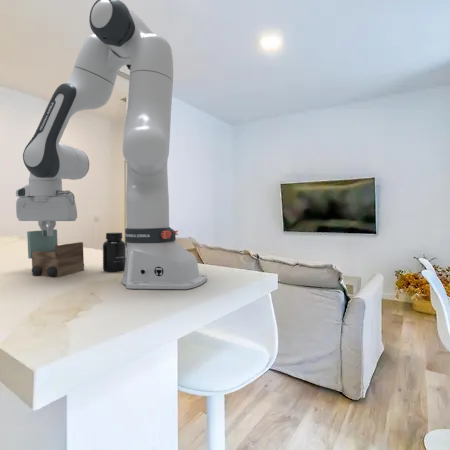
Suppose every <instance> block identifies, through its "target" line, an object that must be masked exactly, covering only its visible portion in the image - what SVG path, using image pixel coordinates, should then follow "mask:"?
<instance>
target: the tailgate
mask: <svg viewBox="0 0 450 450" xmlns="http://www.w3.org/2000/svg"><path fill="white" fill-rule="evenodd" d="M26 235H27V237H26V238H27V254H28V255H27V258H28V259H30V260H32V252H34V251H38V252H55V246H57V245H59V244H58V243H59V242H58V229H55V228H54V229H53V235H52V236H42V230H41V229H40V230H30V231H29V230H28V231H26Z"/></svg>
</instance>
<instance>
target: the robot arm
mask: <svg viewBox="0 0 450 450" xmlns="http://www.w3.org/2000/svg"><path fill="white" fill-rule="evenodd" d="M88 20H89V27H90V29H91V31H92V34H90V35H88V36H86V39H85V40H84V42H83V44H82V45H81V48H80V49H79V52H78V54H77V57H76V59H75V63H74V65H73V69H72V72H71V73H70V76H69V77H68V79H67V80H66V81H65V82H64V83H61V84H60V85H58V87H56V89H55V90H54V92H53V94H52V96H51V97H50V100H49V102H48V104H47V105H46V109H45V110H44V113H43V115H42V117H41V119H40V122H39V123H38V126H37V128H36V130H35V133H34V135H33V136H32V137H31V139H30V140H29V142H28V143H27V144H26V145H25V148H24V150H23V152H22V160H23V163H24V165H25V168H26V169H27V170H28V172H29V177H28V184H26V185H25V186H23V187H21V188H18V189H16V191H15V196H16V197H17V198H16V202H15V203H16V204H15V205H16V206H15V208H16V209H15V210H16V211H15V212H16V218H17V219H18V221H19V222H37V223H38V227H39V228H40V231H41V230H42V236H52V235H53V230H54V229H55V227H56V226H57V222H74V221H76V220H77V219H78V210H77V203H76V199H75V197H76V196H75V194H74V193H73V192H72V191H71V190H69V189H68V190H63V180H71V181H72V180H73V181H76V180H81V179H83V178H84V177H86V175H87V174H88V172H89V171H90V170H89V169H90V159H89V156H88V155H87V154H86V152H84V151H83V150H81V149H80V148H79V149H78V148H76V147H73V146H70V145H67V144H65V143H63V142H61V139H62V137H63V135H64V132H65V130H66V128H67V127H68V126H67V125H68V124H69V121H70V119H71V118H72V117H73V116H74V115H75V114H76V113H78V112H82V111H88V110H95V109H99V108H102V107H104V106H105V105H106V104H107V103H108V101H109V100H110V98H111V96H112V94H113V90H114V87H115V83H116V80H117V77H118V73H119V72H120V70H121V68H122V67H124V66H126V68H127V69H128V70H129V80H128V82H129V83H128V93H127V94H128V96H127V97H128V98H127V109H126V116H125V122H124V128H123V129H124V131H123V140H122V154H123V157H124V160H125V162H126V192H125V208H126V209H125V213H126V215H125V216H126V219H125V220H126V221H125V222H126V228H125V229H124V242H125V244H126V261H125V269H124V271H123V273H122V278H121V281H120V282H121V284H122V285H125V287H126V289H135V290H138V289H139V290H144V289H145V290H146V289H147V290H189V289H194V288H196V287H199V286H201V285H203V284H204V283H206V281H207V280H208V276H207V274H205V273H200V271H199V264H198V259H197V258H196V256H195V255H194V254H192V253H191V252H190V251H189V250H187V249H186V248H185V247H183V246H182V244H180V243H179V242H178V241H176V236H178V235H179V231H178V230H174V229H173V228H172V227H170V207H169V206H170V201H169V199H170V198H169V196H170V195H169V180H168V178H169V177H168V158H169V154H170V143H171V142H170V141H171V140H170V138H171V120H172V119H171V118H172V117H171V116H172V105H173V103H172V100H173V90H174V89H173V87H174V61H173V60H174V59H173V51H172V47H171V44H170V43H169V41H168V40H167V39H166V38H164V37H163V36H161V35H159V34H156V33H154V32H153V31H152V30H151V29H150V27H149V25H147V24H146V22H144V20H143V19H142V18H141V17H140V16H139V15H138V14H136V13H135V12H134V11H133V10H131V9H130V8H129V7H128V6H127V5H126V4H125V3H124V2H123V1H121V0H96V1H95V2H94V3H93V5H92V7H91V9H90V13H89V19H88Z"/></svg>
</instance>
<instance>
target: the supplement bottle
mask: <svg viewBox="0 0 450 450" xmlns="http://www.w3.org/2000/svg"><path fill="white" fill-rule="evenodd" d="M105 239H106V241H104V242H103V243H102V270H103V272H105V273H121V272H124V269H125V261H126V249H127V248H126V244H125V240H122V239H123V232H106V233H105Z"/></svg>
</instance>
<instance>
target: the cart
mask: <svg viewBox="0 0 450 450" xmlns="http://www.w3.org/2000/svg"><path fill="white" fill-rule="evenodd" d="M84 258H85V257H84V242H83V241H79V242H73V243H65V244H58V245H57V246H55V252H38V251H34V252H32V258H31V274H32V276H34V277H50V278H60V277H64V276H68V275H71V274H76V273H80V272H83V271H84V270H85V262H84V261H85V260H84Z"/></svg>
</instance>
